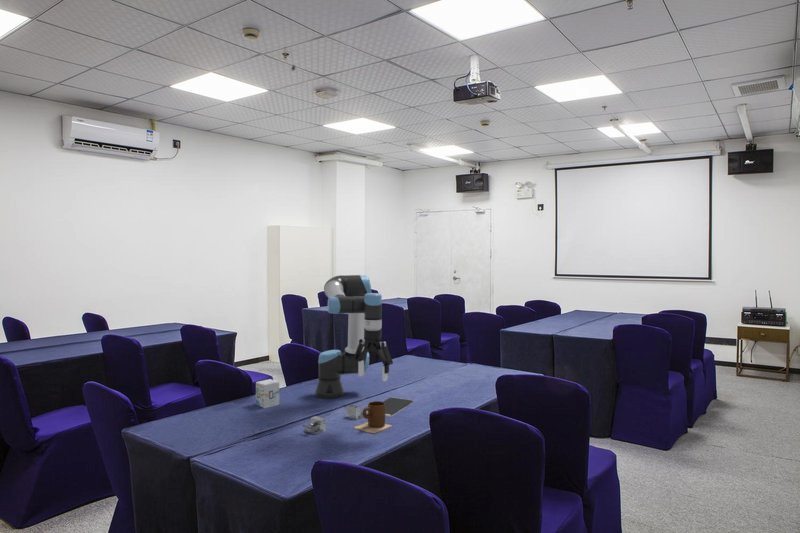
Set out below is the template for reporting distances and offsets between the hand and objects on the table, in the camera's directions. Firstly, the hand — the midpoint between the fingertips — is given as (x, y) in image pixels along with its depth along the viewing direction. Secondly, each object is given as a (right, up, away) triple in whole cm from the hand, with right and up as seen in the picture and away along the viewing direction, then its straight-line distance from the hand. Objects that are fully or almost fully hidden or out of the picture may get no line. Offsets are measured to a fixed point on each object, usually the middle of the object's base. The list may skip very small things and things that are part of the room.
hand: (372, 378), depth 217 cm
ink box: (-54, -21, +33) cm, 67 cm away
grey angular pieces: (-16, -21, +5) cm, 27 cm away
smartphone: (+7, -22, +29) cm, 37 cm away
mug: (0, -21, 0) cm, 21 cm away
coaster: (0, -21, 0) cm, 21 cm away
